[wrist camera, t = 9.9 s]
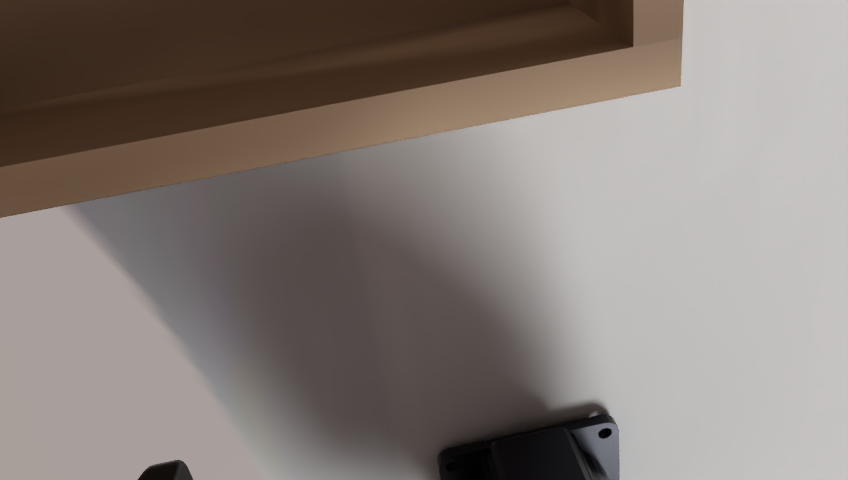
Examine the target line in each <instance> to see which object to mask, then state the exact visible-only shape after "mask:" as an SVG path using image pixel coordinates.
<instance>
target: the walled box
mask: <svg viewBox="0 0 848 480" xmlns="http://www.w3.org/2000/svg"><path fill="white" fill-rule="evenodd" d="M683 3H684V0H0V218H1V217H7V216H12V215H17V214H22V213H27V212H32V211H38V210H42V209H48V208H53V207H58V206H63V205H69V204H74V203H79V202H84V201H89V200H94V199H100V198H105V197H110V196H115V195H120V194H125V193H131V192H136V191H141V190H146V189H151V188H156V187H162V186H167V185H172V184H177V183H182V182H187V181H193V180H198V179H203V178H208V177H213V176H218V175H224V174H229V173H234V172H239V171H244V170H250V169H255V168H260V167H265V166H270V165H275V164H281V163H286V162H291V161H296V160H301V159H306V158H312V157H317V156H322V155H327V154H332V153H337V152H343V151H348V150H353V149H358V148H363V147H368V146H374V145H379V144H384V143H389V142H394V141H399V140H405V139H410V138H415V137H420V136H425V135H430V134H436V133H441V132H446V131H451V130H456V129H461V128H467V127H472V126H477V125H482V124H487V123H492V122H498V121H503V120H508V119H513V118H518V117H523V116H529V115H534V114H539V113H544V112H549V111H554V110H560V109H565V108H570V107H575V106H580V105H585V104H591V103H596V102H601V101H606V100H611V99H616V98H622V97H627V96H632V95H637V94H642V93H647V92H653V91H658V90H663V89H668V88H673V87H678V86H681V60H682V32H683Z"/></svg>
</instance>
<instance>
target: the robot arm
mask: <svg viewBox="0 0 848 480" xmlns="http://www.w3.org/2000/svg"><path fill="white" fill-rule="evenodd" d="M604 428H605V429H604ZM602 429H604V430H602ZM600 430H601V431H600ZM452 461H455V462H453V463H449V462H452ZM437 464H438V469H439V474H440V479H441V480H619V430H618V426H617V425H616V423H615V421H614V419H613V418H612V417H611V416H608V415H599V416H595V417H590V418H586V419H581V420H576V421H572V422H567V423H562V424H558V425H553V426H549V427H544V428H539V429H535V430H530V431H526V432H521V433H516V434H512V435H507V436H503V437H498V438H493V439H489V440H484V441H480V442H475V443H470V444H466V445H461V446H456V447H452V448H448V449H445V450H443V451H442V452H441V453H440V454H439V455H438V457H437ZM138 480H193V478H192V476H191V474H190V471H189V469H188V467H187V466H186V464H185V463H184V462H183V461H181V460H174V461H170V462H165V463H160V464H156V465H152V466H150V467H148V468H147V469H146V470H145V471H144V472H143V473H142V475H141V476H140V477H139V479H138Z"/></svg>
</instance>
